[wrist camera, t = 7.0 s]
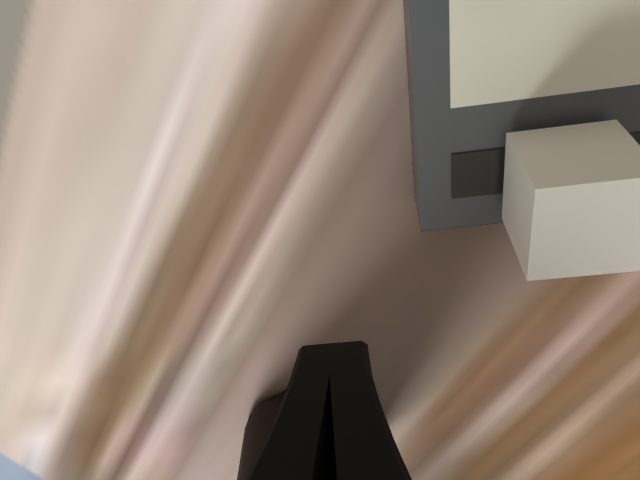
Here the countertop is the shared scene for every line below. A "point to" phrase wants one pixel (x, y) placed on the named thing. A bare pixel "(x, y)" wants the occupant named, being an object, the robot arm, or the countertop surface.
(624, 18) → the switch panel
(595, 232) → the tab
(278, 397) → the bottle
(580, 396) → the countertop surface
